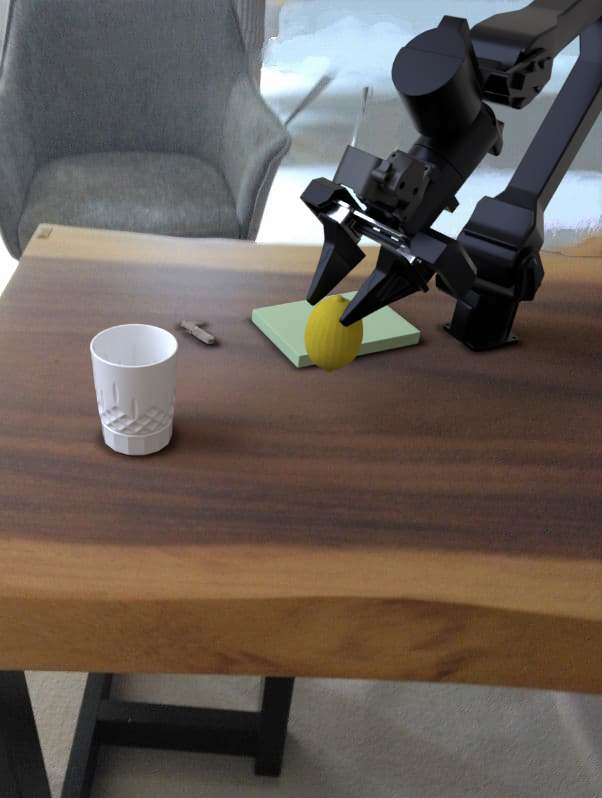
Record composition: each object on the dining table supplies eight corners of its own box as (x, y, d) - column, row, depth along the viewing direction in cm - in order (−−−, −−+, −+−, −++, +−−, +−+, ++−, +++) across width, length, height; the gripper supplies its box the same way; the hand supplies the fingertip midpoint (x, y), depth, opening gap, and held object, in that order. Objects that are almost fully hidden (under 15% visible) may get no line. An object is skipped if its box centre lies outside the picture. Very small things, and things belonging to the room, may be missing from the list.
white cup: (116, 468, 74) (110, 374, 67) (85, 425, 79) (77, 334, 72) (191, 447, 77) (193, 354, 70) (156, 406, 82) (155, 317, 75)
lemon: (343, 392, 76) (355, 315, 70) (291, 376, 78) (298, 300, 72) (365, 366, 79) (378, 290, 74) (314, 351, 81) (323, 277, 76)
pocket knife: (227, 336, 92) (207, 339, 91) (226, 342, 93) (206, 346, 91) (197, 317, 96) (177, 320, 94) (196, 323, 96) (177, 326, 94)
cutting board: (364, 300, 101) (366, 289, 100) (418, 343, 93) (421, 331, 92) (251, 320, 96) (252, 309, 95) (297, 368, 88) (299, 356, 87)
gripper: (326, 80, 70) (219, 231, 73) (486, 136, 58) (351, 313, 62) (379, 158, 78) (282, 291, 82) (529, 221, 67) (408, 372, 70)
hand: (325, 313), depth 73 cm, fingers closed on lemon, 4 cm apart
